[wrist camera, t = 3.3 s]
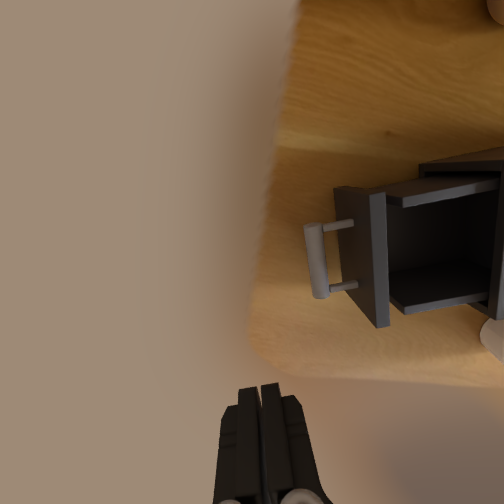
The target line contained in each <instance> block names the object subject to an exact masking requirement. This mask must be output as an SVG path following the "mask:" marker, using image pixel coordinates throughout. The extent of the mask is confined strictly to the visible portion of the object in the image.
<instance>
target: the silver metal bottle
mask: <svg viewBox="0 0 504 504" xmlns="http://www.w3.org/2000/svg"><path fill="white" fill-rule="evenodd" d="M487 7H488V11H489V13H490V15H491V17H492V18H493V19H494V20H495V21H496V22H498V23H499V24H501V25H504V0H487Z"/></svg>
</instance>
